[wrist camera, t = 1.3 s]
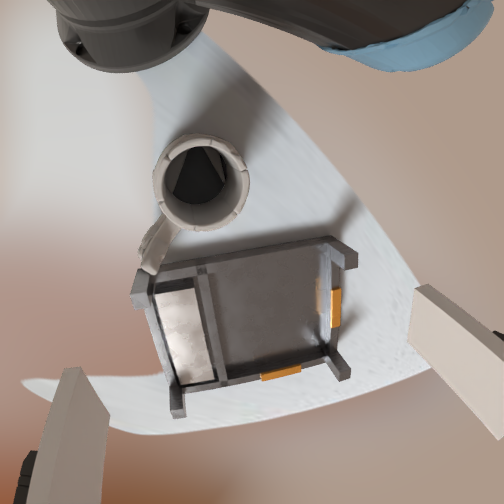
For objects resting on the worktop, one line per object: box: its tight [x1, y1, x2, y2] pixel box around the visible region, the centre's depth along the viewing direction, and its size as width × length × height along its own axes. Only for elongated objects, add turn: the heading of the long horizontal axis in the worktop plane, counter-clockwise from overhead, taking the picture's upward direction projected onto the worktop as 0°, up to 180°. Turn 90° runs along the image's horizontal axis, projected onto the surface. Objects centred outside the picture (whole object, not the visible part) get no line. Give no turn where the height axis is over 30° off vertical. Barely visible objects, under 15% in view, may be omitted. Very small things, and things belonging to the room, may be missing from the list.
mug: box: [138, 133, 250, 275], centre depth 24 cm, size 8×12×12 cm, turn 142°
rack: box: [130, 236, 358, 419], centre depth 33 cm, size 16×21×6 cm
